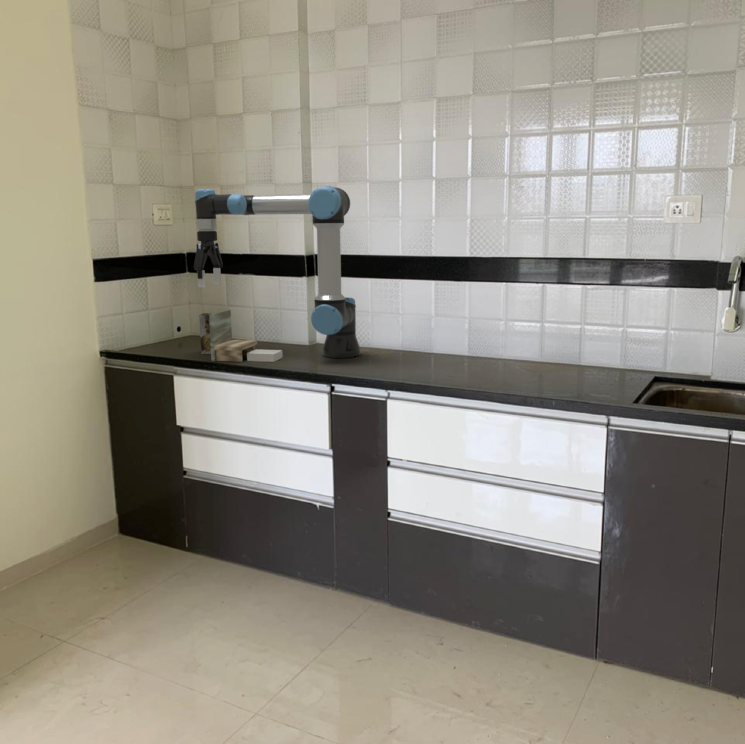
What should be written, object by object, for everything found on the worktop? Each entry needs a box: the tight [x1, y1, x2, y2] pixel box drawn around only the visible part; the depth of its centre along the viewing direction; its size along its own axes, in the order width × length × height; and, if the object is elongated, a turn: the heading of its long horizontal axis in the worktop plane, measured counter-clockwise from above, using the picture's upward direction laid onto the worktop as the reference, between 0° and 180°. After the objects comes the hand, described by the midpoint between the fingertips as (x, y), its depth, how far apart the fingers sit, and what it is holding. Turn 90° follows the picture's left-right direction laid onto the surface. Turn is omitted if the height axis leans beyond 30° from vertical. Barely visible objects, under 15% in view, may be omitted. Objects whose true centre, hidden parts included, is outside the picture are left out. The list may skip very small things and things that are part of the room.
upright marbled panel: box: [209, 309, 258, 363], centre depth 288 cm, size 12×16×18 cm
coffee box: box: [198, 312, 214, 355], centre depth 301 cm, size 9×6×16 cm
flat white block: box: [246, 348, 283, 363], centre depth 287 cm, size 11×9×3 cm
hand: (209, 286), depth 289 cm, fingers open, 13 cm apart
